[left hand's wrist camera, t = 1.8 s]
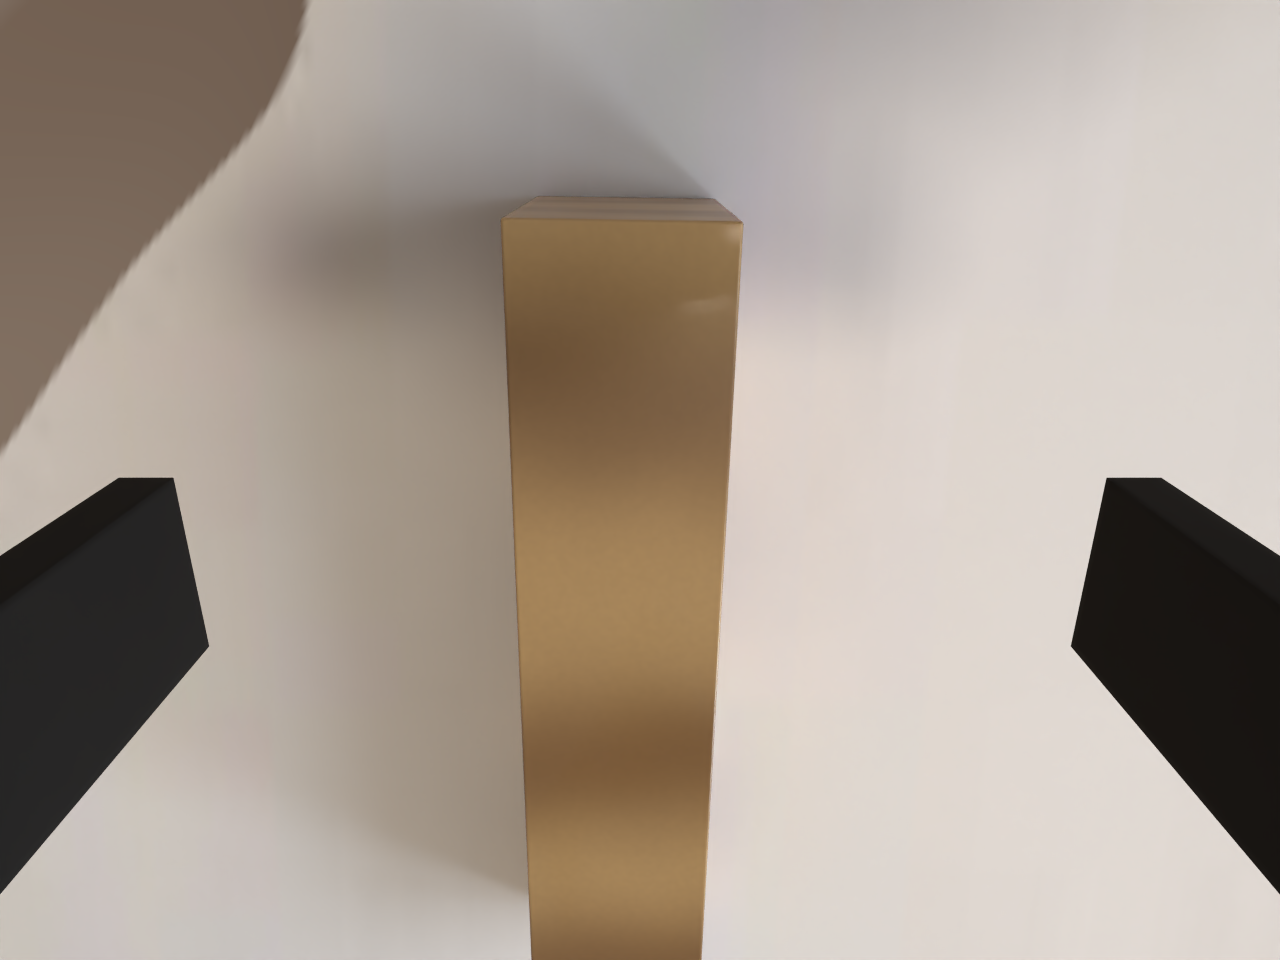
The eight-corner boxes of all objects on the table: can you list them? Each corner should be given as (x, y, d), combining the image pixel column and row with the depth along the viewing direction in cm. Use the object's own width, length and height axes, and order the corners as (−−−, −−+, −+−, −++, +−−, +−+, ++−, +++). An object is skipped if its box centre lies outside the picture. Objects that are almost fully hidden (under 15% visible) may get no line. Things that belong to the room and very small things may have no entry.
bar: (537, 196, 27) (499, 217, 20) (716, 198, 28) (743, 221, 20) (555, 906, 38) (536, 1085, 31) (683, 907, 39) (694, 1087, 31)
